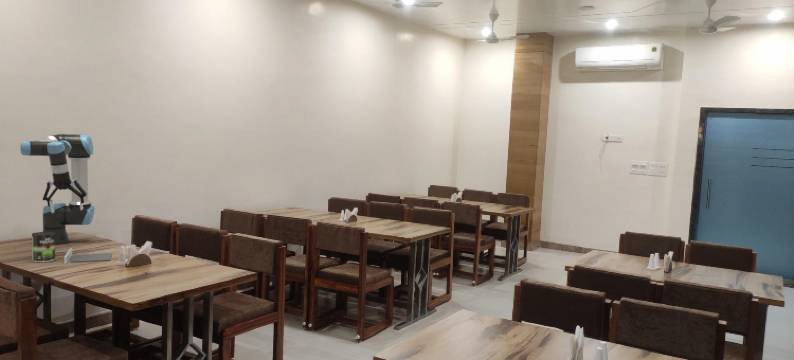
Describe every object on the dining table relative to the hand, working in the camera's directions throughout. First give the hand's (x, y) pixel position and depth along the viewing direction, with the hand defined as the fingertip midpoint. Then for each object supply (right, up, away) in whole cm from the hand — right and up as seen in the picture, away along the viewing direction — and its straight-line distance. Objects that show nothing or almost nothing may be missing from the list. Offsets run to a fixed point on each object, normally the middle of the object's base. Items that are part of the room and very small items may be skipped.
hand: (67, 210), depth 305 cm
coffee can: (-9, -25, -7) cm, 27 cm away
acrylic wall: (+2, -25, -2) cm, 25 cm away
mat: (+12, -25, +2) cm, 28 cm away
